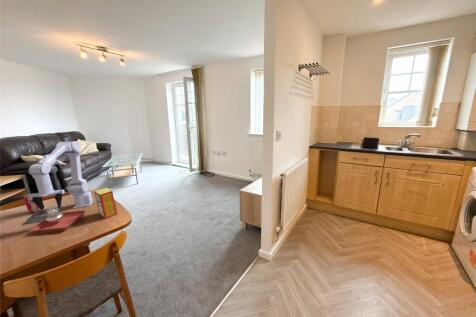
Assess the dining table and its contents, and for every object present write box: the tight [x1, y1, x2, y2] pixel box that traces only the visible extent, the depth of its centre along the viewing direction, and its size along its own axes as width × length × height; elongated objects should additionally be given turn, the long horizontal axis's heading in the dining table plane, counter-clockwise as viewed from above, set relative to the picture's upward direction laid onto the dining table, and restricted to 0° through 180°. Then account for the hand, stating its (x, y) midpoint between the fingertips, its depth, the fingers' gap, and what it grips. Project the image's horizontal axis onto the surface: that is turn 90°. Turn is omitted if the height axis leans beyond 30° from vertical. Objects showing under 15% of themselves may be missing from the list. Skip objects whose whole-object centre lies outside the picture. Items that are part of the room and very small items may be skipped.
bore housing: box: [26, 206, 64, 225], centre depth 120 cm, size 12×12×3 cm
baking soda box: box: [94, 187, 118, 220], centre depth 119 cm, size 10×6×16 cm
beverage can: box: [23, 192, 41, 214], centre depth 125 cm, size 6×6×12 cm
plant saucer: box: [28, 209, 87, 234], centre depth 111 cm, size 18×18×3 cm
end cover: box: [46, 205, 63, 223], centre depth 110 cm, size 7×7×7 cm
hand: (51, 207), depth 109 cm, fingers open, 7 cm apart
